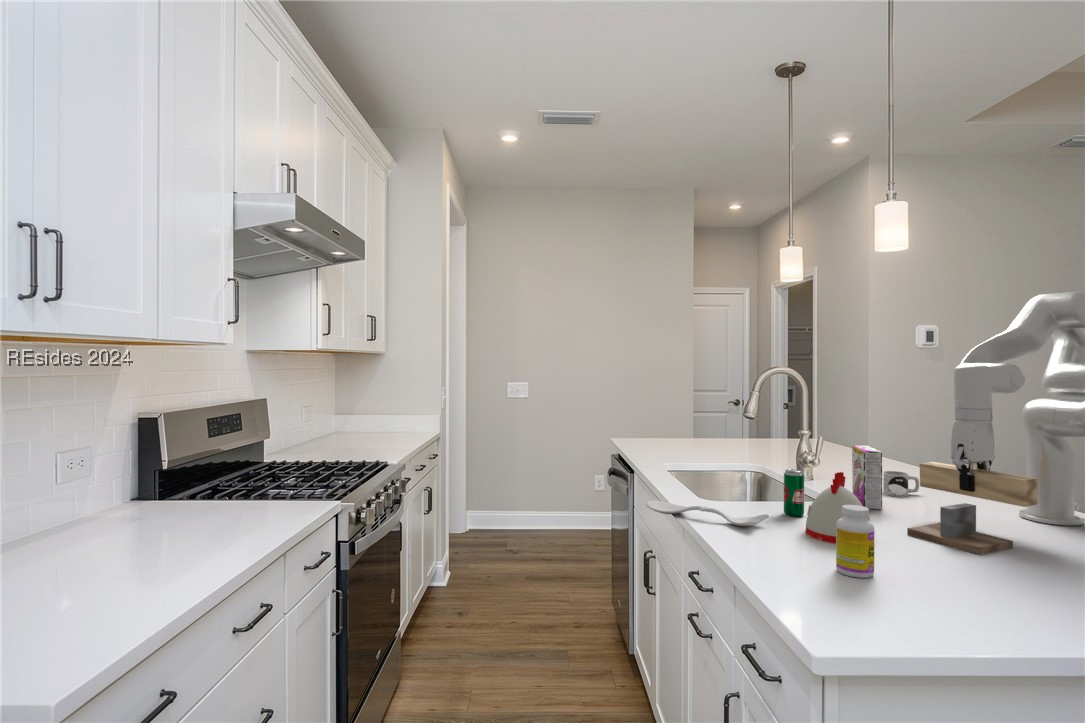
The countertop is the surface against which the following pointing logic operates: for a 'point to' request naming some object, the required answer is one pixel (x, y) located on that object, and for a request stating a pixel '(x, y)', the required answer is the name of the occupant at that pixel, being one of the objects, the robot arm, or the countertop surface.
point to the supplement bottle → (855, 542)
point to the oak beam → (982, 484)
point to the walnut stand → (960, 531)
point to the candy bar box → (867, 476)
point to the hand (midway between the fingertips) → (974, 488)
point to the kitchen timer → (829, 510)
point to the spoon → (674, 509)
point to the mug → (898, 483)
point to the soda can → (794, 492)
